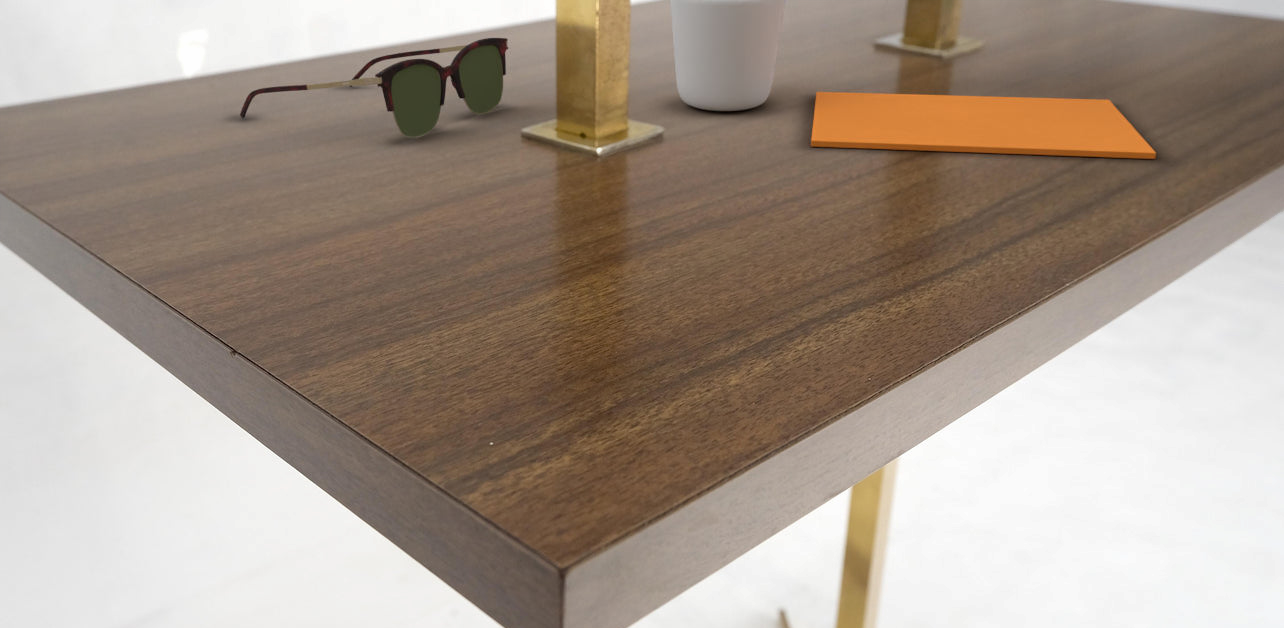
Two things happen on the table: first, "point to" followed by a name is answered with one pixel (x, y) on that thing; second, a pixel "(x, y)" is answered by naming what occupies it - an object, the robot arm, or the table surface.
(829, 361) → the table surface
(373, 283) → the table surface
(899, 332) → the table surface
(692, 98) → the cup
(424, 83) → the sunglasses
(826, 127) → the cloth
